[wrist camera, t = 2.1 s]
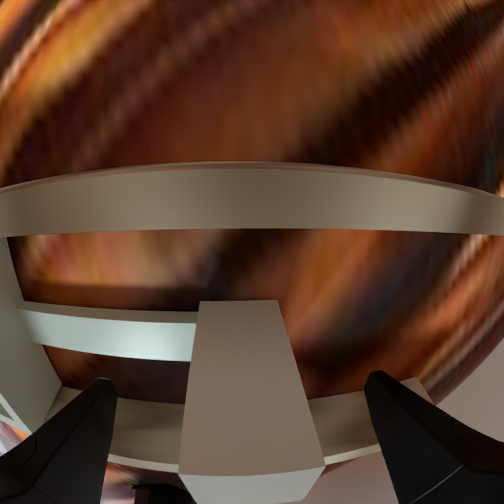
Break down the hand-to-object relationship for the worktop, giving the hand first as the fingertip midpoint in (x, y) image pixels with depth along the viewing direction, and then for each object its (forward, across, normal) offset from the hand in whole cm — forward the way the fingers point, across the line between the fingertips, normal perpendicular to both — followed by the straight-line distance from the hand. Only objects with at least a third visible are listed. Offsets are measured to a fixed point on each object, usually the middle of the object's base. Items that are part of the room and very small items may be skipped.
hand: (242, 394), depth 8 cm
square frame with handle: (+3, +10, 0) cm, 10 cm away
